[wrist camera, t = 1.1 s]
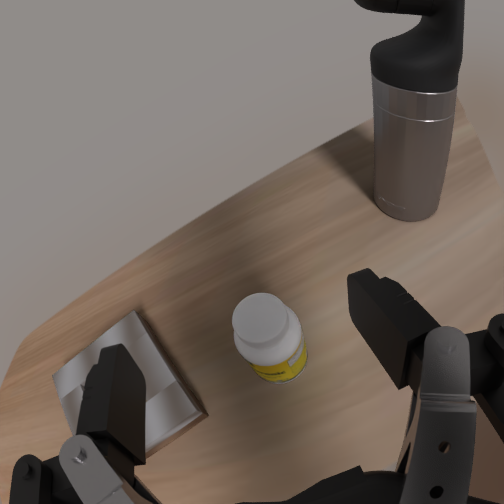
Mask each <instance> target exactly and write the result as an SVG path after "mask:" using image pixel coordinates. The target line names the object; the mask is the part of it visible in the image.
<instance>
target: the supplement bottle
mask: <svg viewBox="0 0 504 504" xmlns="http://www.w3.org/2000/svg"><path fill="white" fill-rule="evenodd" d="M232 325H233V328H234V341H235V345H236V347H237V349H238V351H239V353H240V354H241V355H242V357H243V358H244V359H245V360H246V361H247V363H248V364H249V365H250V366H251V367H252V368H253V370H254V371H255V372H256V373H257V374H258V375H259V376H260V377H261V378H262V379H264V380H265V381H267V382H270V383H275V384H282V383H287V382H290V381H292V380H294V379H295V378H297V377H298V376H299V375H300V374H301V373H302V371H303V370H304V368H305V366H306V363H307V358H308V354H307V348H306V344H305V340H304V336H303V332H302V328H301V324H300V322H299V319H298V317H297V315H296V314H295V313H294V312H293V310H291V309H290V308H289V307H287V306H286V305H284V304H283V302H282V301H281V300H280V299H279V298H278V297H276V296H274V295H272V294H269V293H255V294H252V295H249V296H247V297H246V298H244V299H243V300H242V301H241V302H240V303H239V304H238V305H237V306H236V308H235V310H234V312H233V316H232Z"/></svg>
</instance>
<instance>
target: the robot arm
mask: <svg viewBox="0 0 504 504" xmlns="http://www.w3.org/2000/svg"><path fill="white" fill-rule="evenodd" d="M354 1H355V2H356V3H357V4H358V5H360V6H361V7H363V8H365V9H367V10H371V11H376V12H382V13H397V14H411V15H422V18H421V21H420V22H419V24H418V25H417V26H415V27H414V28H413V29H411V30H410V31H408V32H406V33H404V34H401V35H399V36H396V37H392V38H390V39H386V40H383V41H381V42H379V43H377V44H376V45H374V46H373V48H372V50H371V54H370V61H371V75H372V89H373V90H372V91H373V113H374V187H373V196H374V200H375V202H376V204H377V206H378V207H379V208H380V209H381V210H382V211H383V212H385V213H386V214H387V215H389V216H391V217H393V218H396V219H399V220H403V221H420V220H424V219H426V218H429V217H430V216H431V215H433V214H434V213H435V211H436V210H437V208H438V205H439V200H440V196H441V192H442V187H443V183H444V178H445V173H446V168H447V162H448V157H449V151H450V145H451V138H452V131H453V124H454V116H455V106H456V96H457V85H458V73H459V69H460V65H461V61H462V54H463V32H464V31H463V30H464V5H465V0H354ZM347 286H348V303H349V313H350V316H351V319H352V321H353V323H354V325H355V327H356V328H357V330H358V331H359V332H360V334H361V335H362V337H363V338H364V340H365V341H366V342H367V344H368V345H369V347H370V348H371V350H372V351H373V353H374V354H375V356H376V357H377V358H378V360H379V361H380V363H381V364H382V366H383V367H384V369H385V370H386V372H387V373H388V375H389V376H390V378H391V379H392V381H393V382H394V384H395V385H396V387H397V388H398V390H400V389H402V388H404V387H406V386H408V385H409V386H410V387H411V389H412V390H413V393H412V398H411V404H410V410H409V416H408V421H407V426H406V431H405V436H404V441H403V445H402V448H401V452H400V455H399V458H398V462H397V466H396V469H395V472H393V471H368V472H363V471H362V469H361V467H360V465H359V466H357V467H355V468H352V469H350V470H347V471H345V472H342V473H340V474H337V475H334V476H332V477H329V478H326V479H323V480H321V481H320V482H318V483H316V484H315V485H313V486H312V487H310V488H308V489H306V490H305V491H303V492H301V493H299V494H298V495H296V496H294V497H292V498H291V499H289V500H286V501H282V502H242V503H237V504H499V503H495V502H491V501H487V500H483V499H480V498H476V497H472V496H469V495H468V491H469V485H470V479H471V472H472V464H473V455H474V444H475V430H476V403H475V401H471V399H470V396H473V397H474V398H475V400H476V401H477V403H478V404H479V405H480V407H481V409H482V410H483V412H484V413H485V414H486V416H487V417H488V419H489V421H490V422H491V424H492V425H493V427H494V429H495V430H496V432H497V433H498V435H499V436H500V438H501V439H502V441H503V443H504V314H498V315H496V316H494V317H493V318H492V319H491V320H490V322H489V325H488V328H487V329H486V330H482V331H478V332H473V333H469V334H464V333H463V332H462V331H460V330H459V329H456V328H454V327H448V326H443V327H442V326H440V325H439V324H438V322H437V321H436V320H435V319H434V318H433V317H432V316H431V315H430V314H429V313H428V312H427V311H426V310H425V309H424V308H423V307H422V306H421V305H420V304H419V303H418V302H417V301H416V300H414V298H413V297H412V296H411V295H410V294H409V293H407V291H406V290H405V289H404V288H403V287H402V286H401V285H400V284H399V283H398V282H396V281H394V280H391V279H389V278H387V277H384V278H381V279H379V278H378V276H377V275H376V274H375V273H374V272H373V271H372V270H371V269H369V268H366V269H363V270H361V271H358V272H355V273H352V274H349V275H348V277H347ZM84 389H85V390H84V391H83V396H82V398H83V400H82V401H81V406H80V412H79V417H78V423H77V429H76V435H75V436H73V437H71V438H69V439H68V440H67V441H66V442H65V443H64V444H63V445H62V447H61V449H60V453H59V455H58V456H56V457H53V458H51V459H48V460H46V461H43V462H42V461H41V460H40V459H38V458H37V457H36V456H34V455H30V454H28V455H24V456H22V457H21V458H20V459H19V460H18V461H17V462H16V464H15V466H14V469H13V475H12V482H11V490H10V500H9V504H162V503H161V502H160V501H159V500H158V499H157V498H156V497H155V495H154V494H153V493H152V492H151V491H150V490H149V489H148V488H147V487H146V486H145V485H144V484H143V482H142V481H141V480H140V479H139V478H138V477H137V476H136V475H135V474H134V466H137V465H146V453H145V418H146V382H145V378H144V375H143V373H142V371H141V370H140V368H139V367H138V365H137V364H136V362H135V361H134V359H133V358H132V356H131V355H130V353H129V352H128V350H127V349H126V347H125V346H124V345H123V344H121V343H120V344H116V345H112V346H108V347H104V348H102V349H101V351H100V355H99V360H98V364H94V365H93V366H92V368H91V370H90V371H89V373H88V375H87V377H86V381H85V386H84Z"/></svg>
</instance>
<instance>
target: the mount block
mask: <svg viewBox="0 0 504 504" xmlns="http://www.w3.org/2000/svg"><path fill="white" fill-rule="evenodd" d="M120 343H121V344H123V345H124V346H125V347H126V349H127V350H128V352H129V353H130V355H131V356H132V358H133V359H134V361H135V362H136V364H137V365H138V367H139V368H140V370H141V371H142V373H143V375H144V378H145V382H146V418H145V453H146V458H148V457H149V456H151V455H153V454H154V453H156V452H157V451H159V450H160V449H162V448H163V447H165V446H166V445H168V444H169V443H171V442H172V441H174V440H175V439H177V438H178V437H179V436H181V435H182V434H184V433H185V432H187V431H188V430H189V429H191V428H192V427H194V426H195V425H197V424H198V423H199V422H201V421H202V420H203V419H205V418H206V417H208V414H207V413H206V411H205V410H204V409H203V407H202V406H201V405H200V403H199V402H198V400H197V399H196V397H195V396H194V395H193V393H192V392H191V390H190V389H189V387H188V386H187V384H186V383H185V382H184V380H183V379H182V377H181V376H180V374H179V373H178V371H177V370H176V368H175V366H174V365H173V363H172V362H171V360H170V359H169V357H168V356H167V354H166V352H165V351H164V349H163V348H162V346H161V344H160V343H159V341H158V340H157V338H156V336H155V335H154V333H153V331H152V330H151V328H150V326H149V325H148V323H147V321H145V320H144V319H143V318H142V317H141V316H140V315H139V314H138V313H137V312H136V311H135V310H133V311H132V312H130V313H129V314H128V315H127V316H125V317H124V318H123V319H122V320H120V321H119V322H118V323H116V324H115V325H114V326H113V327H111V328H110V329H109V330H108V331H106V332H105V333H104V334H103V335H101V336H100V337H99V338H98V339H96V340H95V341H94V342H93V343H91V344H90V345H89V346H88V347H86V348H85V349H84V350H83V351H81V352H80V353H79V354H78V355H77V356H75V357H74V358H73V359H72V360H70V361H69V362H68V363H67V364H65V365H64V366H63V367H62V368H61V369H59V370H58V371H57V372H56V373H54V374H53V375H52V377H53V380H54V383H55V387H56V390H57V393H58V396H59V399H60V402H61V405H62V408H63V411H64V413H65V416H66V419H67V421H68V424H69V427H70V429H71V432H72V434H73V436H75V435H76V429H77V423H78V417H79V412H80V406H81V401H82V400H83V398H82V396H83V391H84V390H85V389H84V386H85V381H86V377H87V375H88V373H89V371H90V370H91V368H92V366H93V365H94V364H98V360H99V355H100V351H101V349H102V348H104V347H108V346H112V345H116V344H120Z"/></svg>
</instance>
